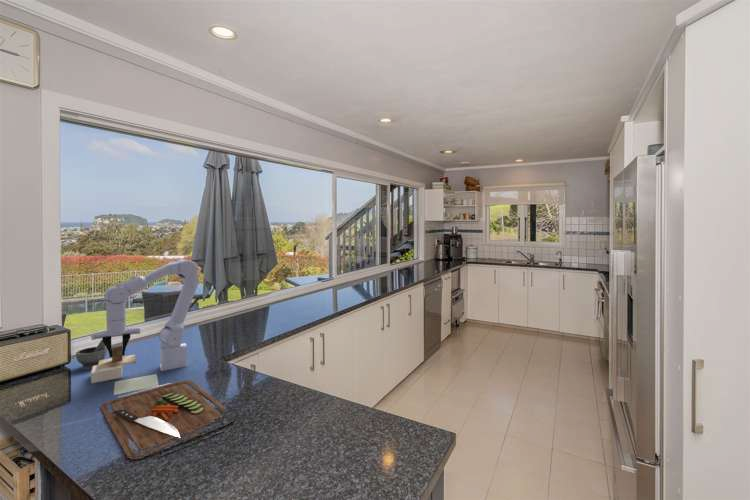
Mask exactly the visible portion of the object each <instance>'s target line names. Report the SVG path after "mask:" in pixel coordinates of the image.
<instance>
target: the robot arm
mask: <svg viewBox="0 0 750 500" xmlns="http://www.w3.org/2000/svg"><path fill="white" fill-rule="evenodd" d="M198 270H199V268H198V265H197V264H196V263H195V262H194V261H193V260H190V259H183V258H178V259H175V260H174V261H170V262H168V263H166V264H164V265H162V266H161V267H158V268H156V269H155V270H153V271H151V272H149V273H147V274H145V275H143V276H141V275H136V276H135V275H131V276H130V277H129V278H130V279H128V280H126V281H125V280H124V281H123V282H118V283H117V284H116V285H117V286H116V285H114V286H110V287H108V288H106V290H105V292H104V294H103V298H104V299H105V301H106V307H105V308H106V309H105V311H106V312H105V313H106V314H105V315H106V330H105V331H101V332H100V331H99V332H93V333H91V336H90V337H91V341H95V340H99V339H100V340H102V339H103V340H102V341H103V343H104V344H105V347H106V348H107V353H108V356H109V358H112V347H113V346H112V338H115V337H122V338H121V339H122V340H121V341H122V356H126V355H125V352H126V349H127V345H128V343H129V341H130V339H131V335H139V334H141V327H132V328H130V327H129V328H127V318H126V317H127V315H126V300H127V298H129V297H131V296H134V295H136V294H137V293H139V292H141V291H144V290H145V289H147V286H148V285H149V284H151V283H153V282H155V281H157V280H159V279H162V278H163V277H166V276H168V275H177V276H178V277H179V278H180V279H181V281H182V283H183V284H182V287H181V290H180V293H179V295H178V297H177V300H176V302H175V305H174V308H173V310H172V313H171V315H170V317H169V320H168V321H167V322H166V323H165V324H164V327H163V328H162V329H161V330H160V331H159V332H158V339H159V341H160V342H161V343H160V364H159V370H160V371H161V372H163V371H169V370H174V369H180V368H185V367H188V366H189V365H188V361H189V360H188V358H189V357H188V345H187V343H186V342H183V343H182V341H183V339H184V335H183V334H184V332H185V331H184V330H185V326H184V322H185V320H186V316H187V314H188V311H189V310H190V307H191V304H192V302H193V299H194V296H195V293H196V291H197V288H198V286H199V283H200V281H199V274H198Z"/></svg>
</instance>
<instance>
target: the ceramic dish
mask: <svg viewBox="0 0 750 500" xmlns="http://www.w3.org/2000/svg"><path fill="white" fill-rule="evenodd" d="M122 378H123V365H122V366H116V367H110V368H104V369H98V365H95V366H93V368H92V369H91V372H90V383H91V384H96V383H102V382H105V381H107V382H108V381H111V380H118V379H122Z"/></svg>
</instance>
